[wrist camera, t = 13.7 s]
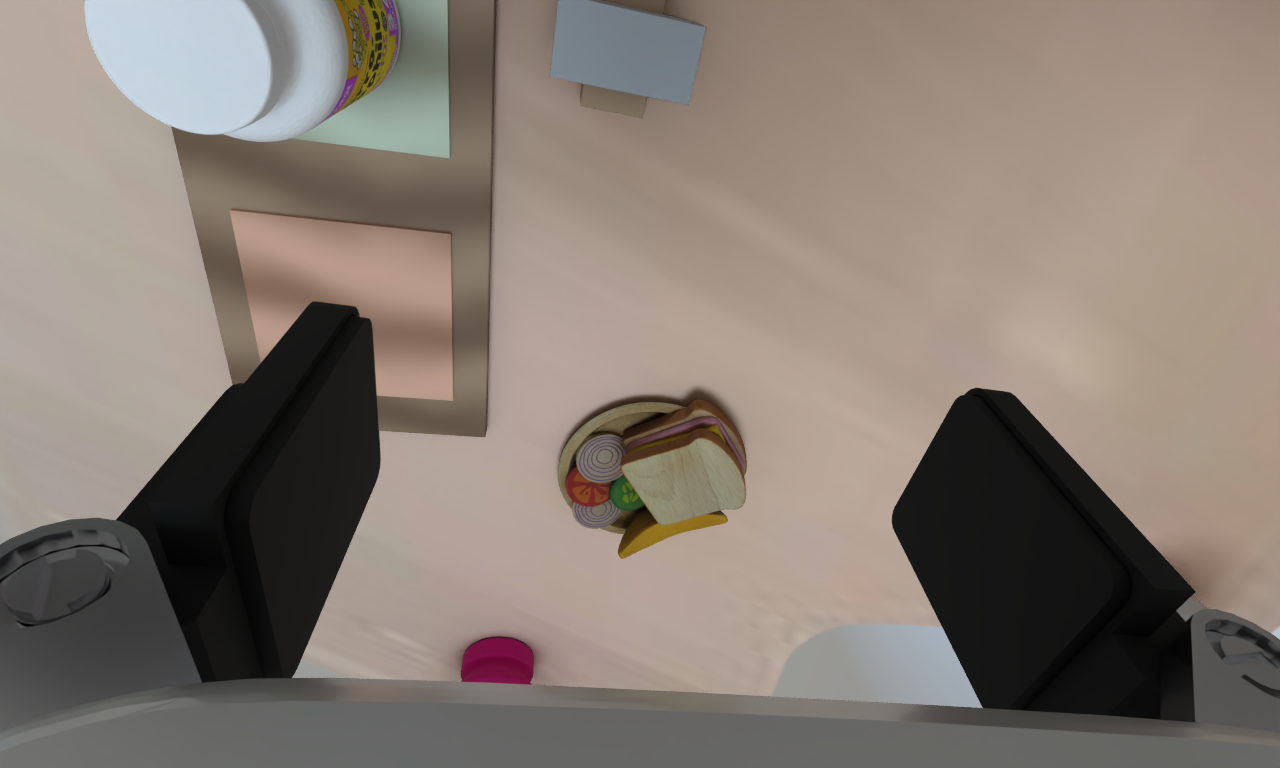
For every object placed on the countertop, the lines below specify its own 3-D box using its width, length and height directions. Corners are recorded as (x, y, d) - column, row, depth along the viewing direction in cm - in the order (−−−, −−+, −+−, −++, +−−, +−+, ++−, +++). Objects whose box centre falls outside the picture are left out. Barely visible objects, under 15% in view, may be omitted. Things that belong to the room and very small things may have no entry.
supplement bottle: (377, 123, 31) (274, 210, 20) (230, 47, 29) (27, 99, 18) (427, -17, 28) (336, -2, 17) (267, -114, 26) (49, -166, 15)
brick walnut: (600, -45, 29) (602, -46, 27) (663, -29, 30) (671, -28, 27) (580, 94, 32) (580, 105, 30) (637, 106, 33) (642, 118, 30)
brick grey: (551, 66, 29) (549, 76, 26) (560, -10, 27) (559, -7, 25) (679, 93, 30) (688, 105, 27) (694, 21, 28) (706, 27, 26)
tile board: (90, -280, 24) (66, -292, 23) (500, -194, 26) (497, -201, 25) (248, 412, 41) (239, 425, 40) (486, 428, 43) (484, 440, 42)
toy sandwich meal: (530, 425, 44) (525, 471, 40) (718, 365, 42) (733, 406, 38) (594, 541, 51) (595, 590, 47) (758, 493, 49) (774, 539, 45)
